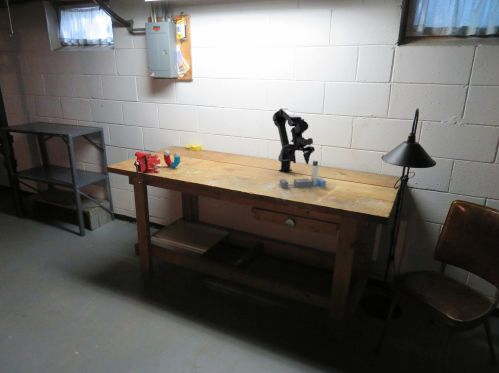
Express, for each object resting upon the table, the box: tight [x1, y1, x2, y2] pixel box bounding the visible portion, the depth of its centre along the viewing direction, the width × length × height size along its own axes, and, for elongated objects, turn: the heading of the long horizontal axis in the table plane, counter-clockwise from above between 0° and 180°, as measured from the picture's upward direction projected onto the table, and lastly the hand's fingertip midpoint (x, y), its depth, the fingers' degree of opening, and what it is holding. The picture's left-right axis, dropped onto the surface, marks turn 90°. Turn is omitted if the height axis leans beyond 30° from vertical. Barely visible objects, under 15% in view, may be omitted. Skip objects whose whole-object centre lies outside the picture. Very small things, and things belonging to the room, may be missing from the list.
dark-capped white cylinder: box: [310, 160, 319, 186], centre depth 191 cm, size 3×3×13 cm
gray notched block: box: [278, 177, 327, 189], centre depth 191 cm, size 6×24×4 cm, turn 100°
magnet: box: [163, 149, 181, 168], centre depth 222 cm, size 12×3×10 cm, turn 57°
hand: (301, 163), depth 198 cm, fingers open, 9 cm apart
